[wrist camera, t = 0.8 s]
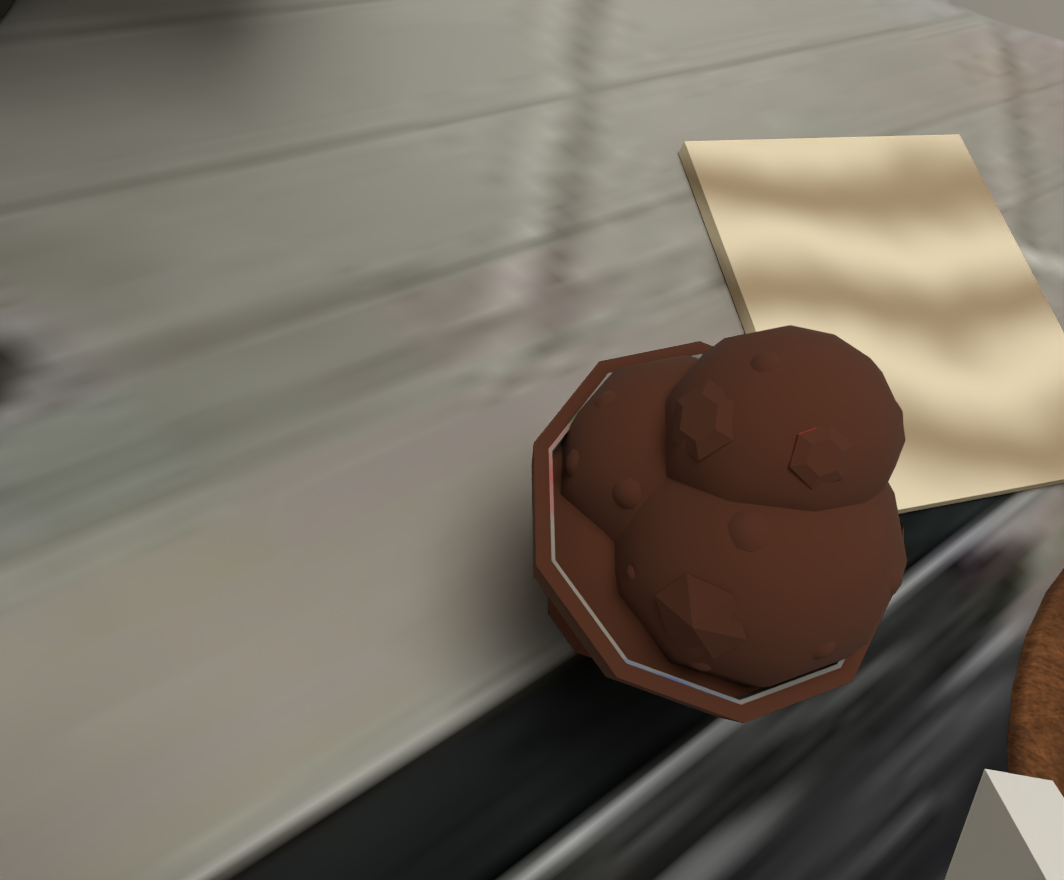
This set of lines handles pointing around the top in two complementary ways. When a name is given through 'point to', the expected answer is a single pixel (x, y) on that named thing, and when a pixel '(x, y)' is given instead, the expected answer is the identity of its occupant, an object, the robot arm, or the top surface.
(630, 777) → the top surface
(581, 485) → the chocolate ice cream sundae
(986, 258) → the birch pad
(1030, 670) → the cutting board
